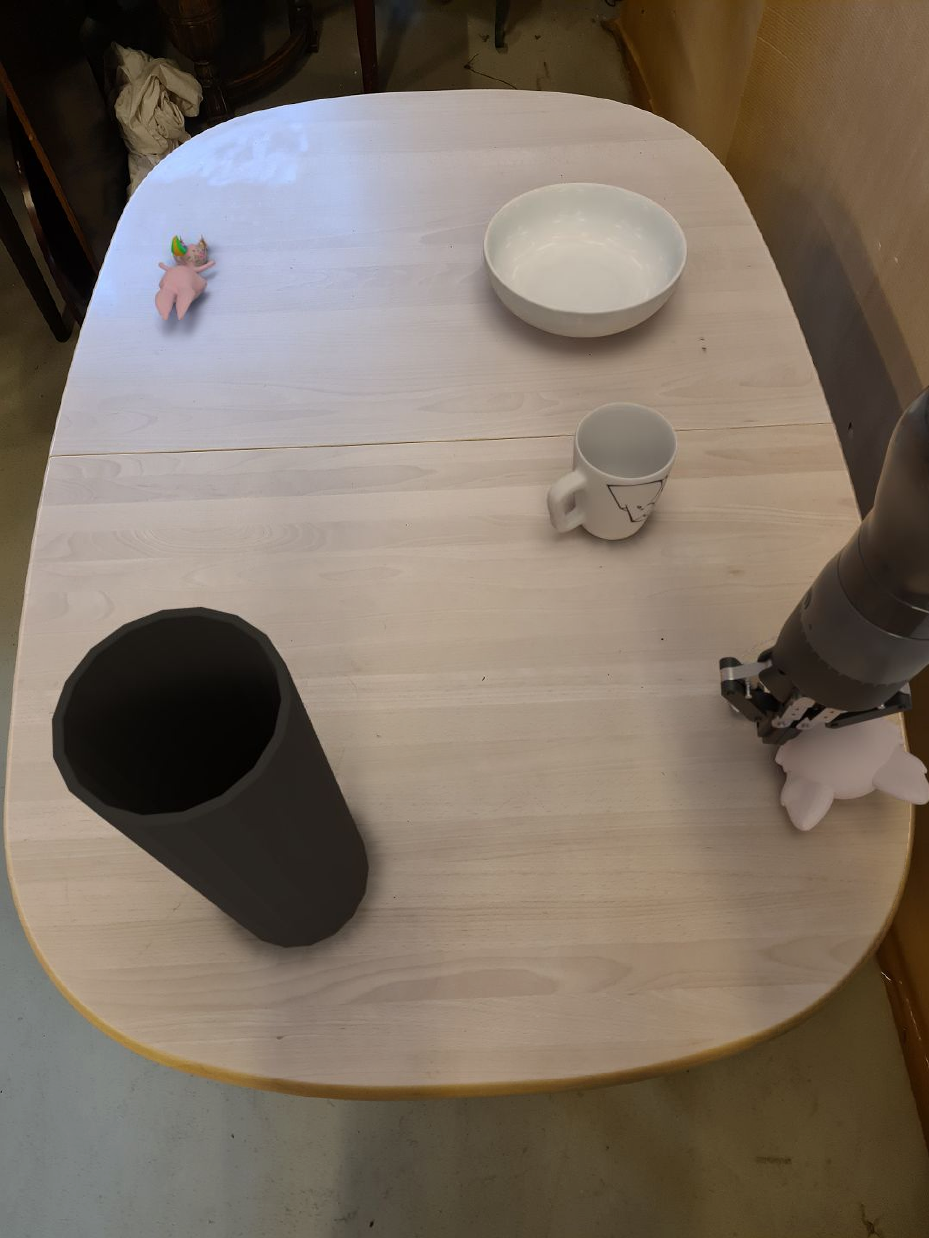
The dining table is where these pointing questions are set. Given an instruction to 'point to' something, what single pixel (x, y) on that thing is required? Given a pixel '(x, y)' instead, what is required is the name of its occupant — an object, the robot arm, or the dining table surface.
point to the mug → (615, 471)
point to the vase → (214, 770)
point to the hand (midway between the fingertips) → (771, 732)
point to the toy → (846, 767)
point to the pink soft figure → (182, 278)
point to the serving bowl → (583, 258)
